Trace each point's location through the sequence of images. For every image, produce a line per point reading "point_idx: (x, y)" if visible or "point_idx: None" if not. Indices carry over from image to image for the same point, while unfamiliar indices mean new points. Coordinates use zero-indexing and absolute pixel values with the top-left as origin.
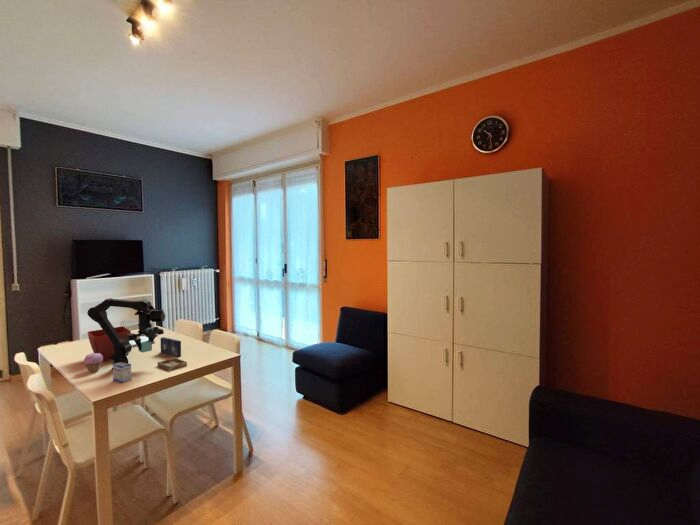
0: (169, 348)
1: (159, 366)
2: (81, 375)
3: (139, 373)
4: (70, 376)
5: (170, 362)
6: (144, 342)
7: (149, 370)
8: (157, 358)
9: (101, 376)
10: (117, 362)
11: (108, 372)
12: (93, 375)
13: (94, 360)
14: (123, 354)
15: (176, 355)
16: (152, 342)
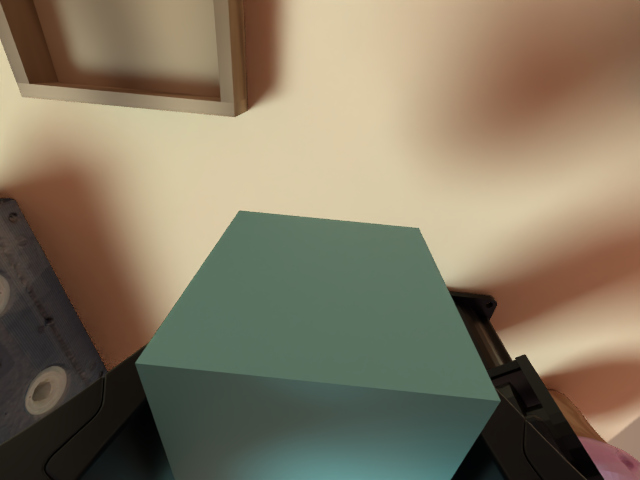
0: (18, 339)
1: (244, 63)
2: (613, 390)
3: (480, 55)
4: (637, 416)
5: (108, 64)
6: (337, 461)
7: (368, 51)
8: (165, 300)
9: (620, 285)
10: (500, 357)
11: (528, 317)
12: (604, 342)
13: (628, 469)
14: (518, 400)
15: (12, 221)
16: (122, 369)
